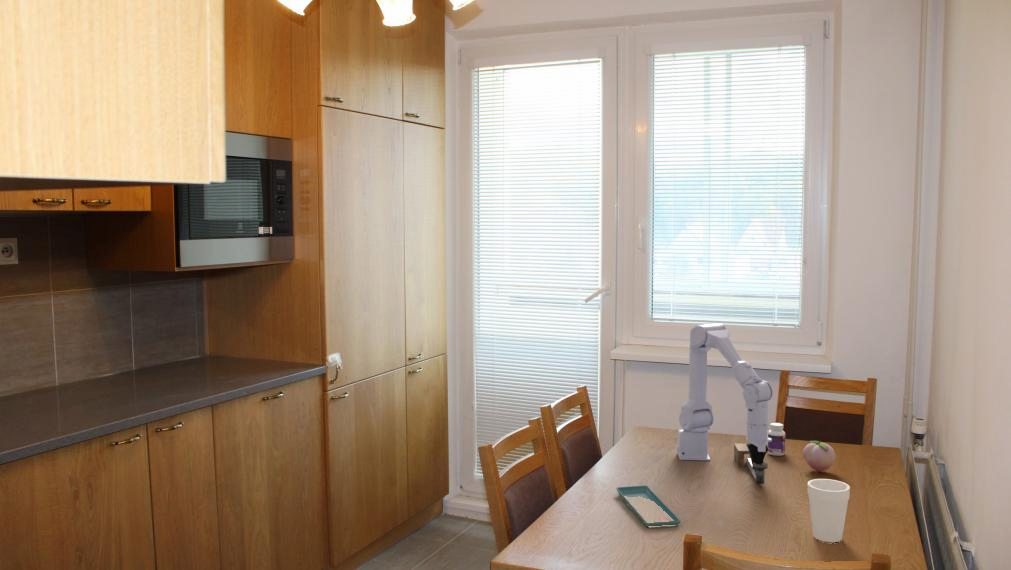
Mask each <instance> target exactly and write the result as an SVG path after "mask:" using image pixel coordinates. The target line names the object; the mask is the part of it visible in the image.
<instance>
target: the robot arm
mask: <svg viewBox="0 0 1011 570" xmlns="http://www.w3.org/2000/svg"><path fill="white" fill-rule="evenodd" d="M711 349H716V350H718V351H719V353H720V354H721V355H722V356H723V358H725V360H726V361H727V362H728V363H729V365H730V366H731V367H732V368H731V374H732V376H733V377H734V378H735V380H736V381H737V382H738V384H739V385H740V387H741V388H742V389H743V391H742V397H743V399H744V401H745V408H746V410H747V412H746V415H747V417H746V418H747V419H746V421H747V423H746V424H747V425H746V437H745V438H746V440H745V441H746V442H747V443H745V444H746V445H747V447H748V450H749V453H750V454H749V457H750V456H751V462H752V467H753V462H764V461H765V460H764V459H765V457H766V455H767V454H768V442H772V439H771V438H768V431H769V430H768V429H769V426H768V425H769V401H770V400H771V399H772V397H773V394H774V393H773V387H772V386H771V384H770V382H769V381H766V380H763V379H764V378H760V376H759V375H758V374H757V373H756V371H755V369H754V368H753V367H752V366H753V365H751V363H750V362H748V361H746V360H745V361H744V360H743V359H742V358H741V356H740V354H739V353H738V351H737V350H736V348H735V346H734V344H733V343H732V341H731V340H730V331H729V330H728V329H727V327H726V326H725V324H723V323H721V322H717V323H712V324H696V325H694V326H693V328H692V329H690V333H689V357H688V358H689V359H688V360H689V361H688V364H689V369H688V374H689V375H688V378H689V379H688V399H687V400H686V401H685V402H684V403H683V404H682V405H681V408H680V409H681V410H680V413H679V418H678V421H679V425H680V427H681V428H682V429H678V430H677V448H676V449H677V450H676V451H677V452H676V453H677V456H678V459H679V461H711V458H710V457H711V456H710V455H709V451H708V450H709V448H708V447H709V446H708V445H709V430H711V427H712V426H713V424H714V419H715V418H714V413H713V405H712V404H711V403H710V402H708V401H707V379H708V378H707V377H708V376H707V375H708V374H707V373H708V369H707V368H708V352H709V351H710V350H711ZM753 469H756V468H753Z"/></svg>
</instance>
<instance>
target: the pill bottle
mask: <svg viewBox="0 0 1011 570" xmlns="http://www.w3.org/2000/svg"><path fill="white" fill-rule="evenodd" d="M769 425H770V426H769V430H768V438H771V439H772V442H768V443H767V447H768V451H767V454H768V455H771V456H776V457H777V456H778V457H781V456H785V454H786V432H785V431H784V430H783V429H784V423H783V424H782V423H781V422H772V423H770V424H769Z"/></svg>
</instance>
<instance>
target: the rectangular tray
mask: <svg viewBox="0 0 1011 570" xmlns="http://www.w3.org/2000/svg"><path fill="white" fill-rule="evenodd" d="M615 488H616V492H618V495H619V496H620V498H621V497H622V498H623V499H624V500H625V501H624V500H623V499H622V498H621V499H622V500H623V501H624V502H625V504H626V503H627V504H628V505H629V506H630V507H631V508H632V509H631V508H630V507H629V506H628V505H627V504H626V505H627V506H628V507H629V508H630V509H631V511H632V510H633V511H634V512H635V513H636V514H637V515H638V516H639V517H638V516H637V515H636V514H635V513H634V512H633V511H632V512H633V513H634V514H635V515H636V516H637V517H638V519H639V518H640V519H641V520H642V521H643V522H644V523H645V524H646V525H647V526H662V525H678V524H679V525H680V523H681V519H680V518H679V517H678V516H677V515H676V514H675V513H674V512H673V511H672V510H671V509H670V508H669V507H668V506H667V505H666V504H665V503H664V502H663V501H662V499H660V498H659V496H658V495H657V494H655V492H654V491H653V490H652V489H651V488H650V487H649V485H632V486H619V487H615ZM624 496H627V497H638V496H640V497H641V496H642V497H643V498H646V499H650V500H651V501H654V502H655V503H656V504H657V505H658V506H660V507H661V508H662V509H663V511H665V512H666V513H667V514H668V515H669V516H670V517H671V518H672V519H673V520H674V521H669V522H654V523H647V522H646V521H645V520H644V519H643V517H642V516H641V515H640V514H639V513H638V512H637V510H636V509H635V508H634V507H633V506H632V505H631V504H630V502H629V501H628V500H627V499H626V498H625V497H624ZM640 519H639V520H640ZM641 520H640V521H641ZM642 521H641V522H642ZM643 522H642V523H643ZM644 523H643V524H644ZM645 524H644V525H645Z"/></svg>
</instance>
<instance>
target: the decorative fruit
mask: <svg viewBox="0 0 1011 570" xmlns="http://www.w3.org/2000/svg"><path fill="white" fill-rule="evenodd" d="M802 455H803V459H804V461H805V462H806V463H807V465H808V466H809V467H810V468H811V469H812V470H814V471H815V472H818V473H821V472H823V471H827V470H829V469H830V468H831V467H832V466H833V465H834V463H835V460H836V452H835V450H834V449H833V447H832V446H831V445H829V444H828V443H826V442H821V440H820V439H818V440H810V441H809V442H808V444H806V446H805V447H804V449H803V451H802Z"/></svg>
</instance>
